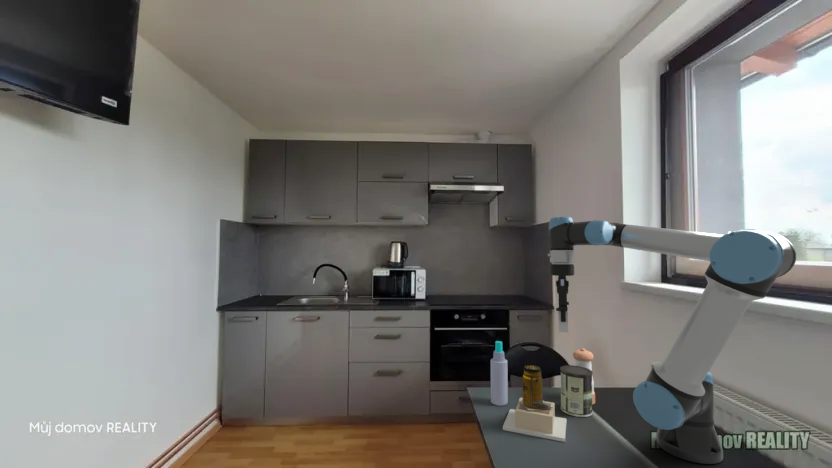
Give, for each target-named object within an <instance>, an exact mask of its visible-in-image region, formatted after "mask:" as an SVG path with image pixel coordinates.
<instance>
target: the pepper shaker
mask: <svg viewBox="0 0 832 468" xmlns="http://www.w3.org/2000/svg"><path fill="white" fill-rule="evenodd" d="M572 356H573V358H574V360H575V361H574V363H575V365H574V366H581V367H585V368H588V369H590V370H591V371H592V372H593V370H592V367H593V366H592V361H593V360H594V354H593V352H591V351H590V350H587V349H586V348H584V347H582V348H580V349H577V350H574V352H573V353H572ZM595 404H596V392H595V382H594V378H593V375H592V405H595Z"/></svg>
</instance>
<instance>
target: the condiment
mask: <svg viewBox="0 0 832 468" xmlns="http://www.w3.org/2000/svg"><path fill="white" fill-rule="evenodd" d="M543 392H544V391H543V376H542V368H541V367H540V366H537V365H532V364H531V365H528V364H527V365H525V366H524V367H523V375H522V398H523V401H519V400H518V401H519V402H520V403H521V404H522V405H523V406H524V407H525V408H526V409H527V410H541V409H550V408H553V407H551V406H550V405H548V404H547V403H546V402H547V401H546V402H545V400H544V399H543V397H544V396H543Z"/></svg>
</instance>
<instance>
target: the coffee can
mask: <svg viewBox="0 0 832 468" xmlns="http://www.w3.org/2000/svg"><path fill="white" fill-rule="evenodd" d="M592 376H593V370H592V371H591V370H590V369H588V368H585V367H581V366H576V365H573V364H569V365H563V366H560V410H561V411H562V412H564V413H565V414H567V415H569V416H572V417H578V418H587V417H591V416H592V415H593V404H592Z"/></svg>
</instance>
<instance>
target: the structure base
mask: <svg viewBox="0 0 832 468" xmlns="http://www.w3.org/2000/svg"><path fill="white" fill-rule="evenodd" d="M517 401H518V402H517V404H516V407H515V409H514V408H510V409H509V411H508V414H507V416H506V418H505V421H504V423H503V426H502V430H503V431H506V432H510V433H511V432H512V433H517V434H521V435H526V436H532V437H536V438H537V437H538V438H543V439H548V440H552V441H558V442H561V443H562V442H563V443H566V432H567V418H565V417H559V416H556V415H555V414H556V411H555V410H556V409H555V408H556V406H555V405H556V404H555V402H551V401H545V400H544V401H545V402H546V403H547V404H548V405H550V406H551V407H553V408H550V409H541V410H527V409H526V408H525V407H524V406H523V405H522V404H521V403H520V402H519V401H523V397H519V399H518V400H517Z"/></svg>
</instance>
